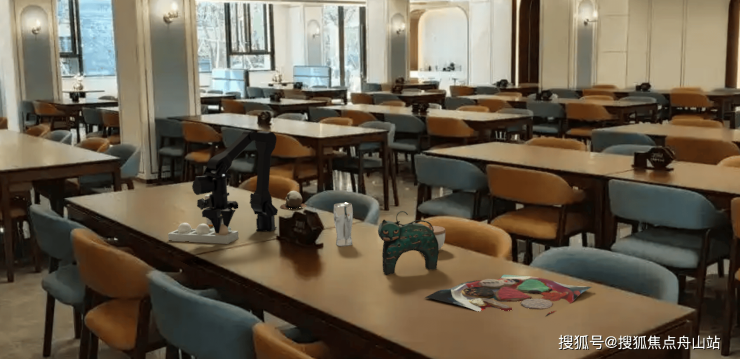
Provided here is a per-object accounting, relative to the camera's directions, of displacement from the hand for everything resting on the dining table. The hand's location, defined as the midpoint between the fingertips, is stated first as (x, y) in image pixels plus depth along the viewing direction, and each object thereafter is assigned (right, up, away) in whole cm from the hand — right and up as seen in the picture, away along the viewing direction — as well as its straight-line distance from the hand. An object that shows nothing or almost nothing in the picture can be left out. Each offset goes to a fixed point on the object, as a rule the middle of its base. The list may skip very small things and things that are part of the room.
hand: (221, 231), depth 310 cm
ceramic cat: (+69, -10, -48) cm, 85 cm away
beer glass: (+47, -4, -11) cm, 49 cm away
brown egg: (0, -3, 0) cm, 3 cm away
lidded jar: (+78, -6, -23) cm, 81 cm away
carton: (-8, -3, +3) cm, 9 cm away
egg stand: (-3, -2, +13) cm, 13 cm away
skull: (+22, +7, +62) cm, 66 cm away
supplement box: (-7, 0, +28) cm, 28 cm away
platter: (+97, -14, -76) cm, 124 cm away
